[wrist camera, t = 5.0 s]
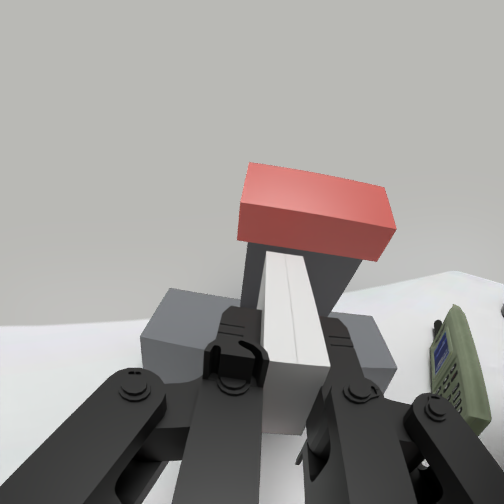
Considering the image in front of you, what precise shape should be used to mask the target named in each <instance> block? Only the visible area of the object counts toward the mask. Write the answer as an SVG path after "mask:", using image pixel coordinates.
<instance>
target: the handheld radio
mask: <svg viewBox="0 0 504 504" xmlns="http://www.w3.org/2000/svg"><path fill="white" fill-rule="evenodd" d="M434 328H435V336H436V337H435V339H434V341H433V343H432V345H431V347H430V352H431V370H432V393H433V394H438V395H440V396H442V397H444V398H446V399H447V400H448V401H449V402H450V403H451V404H452V405H453V406H454V407H455V409H456V410H457V411H458V412H459V414H460V415H461V416H462V417H463V419H464V420H465V421H466V423H467V424H468V425H469V426H470V428H471V429H472V430H473V432H474V433H475V434H476V435H477V437H478V436H479V435H480V433H481V432H482V431H483V430H484V429H485V428H486V427H487V426H488V424H489V423H490V422H491V412H490V407H489V401H488V396H487V392H486V387H485V383H484V378H483V374H482V370H481V366H480V362H479V359H478V355H477V351H476V348H475V345H474V341H473V338H472V335H471V331H470V328H469V325H468V322H467V319H466V316H465V314H464V313H463V311H462V310H461V308H460V307H459V306H457V305H454V304H453V307H452V308H451V309H450V310H449V312H448V314H447V316H446V318H445V320H444V322H443V324H442V322H441V321H440V320H436V321H435V322H434Z"/></svg>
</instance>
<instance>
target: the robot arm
mask: <svg viewBox="0 0 504 504" xmlns="http://www.w3.org/2000/svg"><path fill="white" fill-rule="evenodd" d="M501 311H502V314H503V316H504V304H503V307H502V309H501ZM305 426H306V428H307V440H306V441H305V443H304V445H303V447H302V449H301V451H300V453H299V455H298V457H297V459H296V464H295V465H300V463H301V461H302V459H303V471H304V489H305V504H504V472H503V470H502V469H501V468H500V466H499V465H498V464H497V462H496V461H495V459H494V458H493V457H492V455H491V454H490V453H489V451H488V450H487V449H486V447H485V446H484V445H483V443H482V442H481V441H480V439H479V438H478V437H477V435H476V434H475V433H474V432H473V430H472V429H471V428H470V426H469V425H468V424H467V423H466V421H465V420H464V419H463V417H462V416H461V415H460V414H459V412H458V411H457V410H456V409H455V407H454V406H453V405H452V404H451V403H450V402H449V401H448V400H447V399H446V398H444V397H442V396H440V395H438V394H433V393H424V394H421V395H419V396H417V397H416V399H415V400H414V402H413V403H412V405H410V404H405V403H401V402H396V401H392V400H389V399H386V398H384V395H383V393H382V391H381V390H380V388H379V387H378V386H377V385H376V384H375V383H374V382H373V381H371V380H369V379H367V378H365V377H364V374H363V371H362V368H361V365H360V362H359V359H358V357H357V354H356V351H355V348H354V345H353V342H352V340H351V337H350V334H349V331H348V329H347V327H346V326H345V325H344V324H343V323H342V322H341V321H340V320H339V319H338V318H332V317H323V316H318V312H317V308H316V304H315V300H314V296H313V292H312V289H311V285H310V281H309V277H308V274H307V270H306V266H305V262H304V259H303V256H296V255H290V254H283V253H276V252H269V251H266V256H265V262H264V268H263V274H262V280H261V286H260V292H259V298H258V304H257V309H251V308H245V307H238V306H230V307H229V308H228V309H226V310H225V311H224V312H223V313H222V316H221V320H220V325H219V328H218V332H217V336H216V339H215V340H214V341H212V342H210V343H209V344H208V345H207V347H206V348H205V350H204V359H203V375H202V376H200V377H199V378H197V379H195V380H192V381H189V382H184V383H168V384H164V382H163V381H162V380H161V378H160V377H159V376H158V375H156V374H155V373H153V372H152V371H149V370H146V369H142V368H127V369H123V370H119V371H117V372H116V373H114V374H113V375H111V376H110V377H109V378H108V379H107V380H106V381H105V382H104V383H103V384H102V385H101V386H100V387H99V388H98V389H97V390H96V391H95V392H94V393H93V394H92V395H91V396H90V397H89V398H88V399H87V400H86V401H85V402H84V403H83V404H82V405H81V406H80V407H79V408H78V409H77V410H76V411H75V412H74V413H73V414H72V415H71V416H70V417H68V418H67V419H66V420H65V421H64V422H63V423H62V424H61V425H60V426H59V427H58V428H57V429H56V430H55V431H54V433H53V434H52V435H51V436H50V437H49V438H48V439H47V440H46V441H45V442H44V443H43V444H42V445H41V446H40V447H39V448H38V449H37V450H36V451H35V452H34V453H33V454H32V455H31V456H30V457H29V458H28V459H27V460H26V461H25V462H24V463H23V464H22V465H21V466H20V467H19V468H18V469H17V470H16V471H15V472H14V473H13V474H12V475H11V476H10V477H9V478H8V479H7V480H6V481H5V482H4V483H3V484H2V485H1V486H0V504H142V502H143V501H144V499H145V498H146V496H147V495H148V493H149V492H150V490H151V489H152V487H153V486H154V484H155V482H156V481H157V479H158V478H159V476H160V475H161V473H162V472H163V470H164V468H165V467H166V465H167V464H168V462H169V461H177V460H182V462H181V466H180V470H179V475H178V479H177V483H176V487H175V491H174V495H173V500H172V504H259V484H260V461H261V436H262V433H271V434H284V435H302V433H303V430H304V428H305ZM424 459H426V461H427V462H428V464H429V465H430V466H429V467H425V466H423V465H422V464H421V463H422V462H423V460H424Z"/></svg>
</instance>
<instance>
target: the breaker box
mask: <svg viewBox="0 0 504 504" xmlns="http://www.w3.org/2000/svg"><path fill="white" fill-rule="evenodd" d="M240 302H241V300H239V299H233V298H227V297H221V296H214V295H208V294H202V293H196V292H190V291H185V290H179V289H173V288H170V289H169V290H168V292H167V293H166V295H165V297H164V298H163V300H162V302H161V303H160V305H159V306H158V308H157V309H156V311H155V313H154V314H153V316H152V318H151V319H150V321H149V322H148V324H147V326H146V327H145V329H144V331H143V332H142V334H141V336H140V342H141V353H142V363H143V369H146V370H149V371H152V372H153V373H155V374H156V375H158V376H159V377H160V378H161V380H162V381H163V382H164V384H168V383H184V382H189V381H192V380H195V379H197V378H199V377H200V376H202V375H203V359H204V350H205V348H206V347H207V345H208V344H209V343H210V342H212V341H214V340H215V339H216V336H217V332H218V328H219V325H220V320H221V316H222V313H223V312H224V311H225V310H226V309H228V308H229V307H230V306H240ZM328 317H332V318H338V319H339V320H340V321H341V322H342V323H343V324H344V325H345V326H346V327H347V329H348V331H349V334H350V337H351V340H352V342H353V345H354V348H355V351H356V354H357V357H358V359H359V362H360V365H361V368H362V371H363V374H364V377H365V378H367V379H369V380H371V381H373V382H374V383H375V384H376V385H377V386H378V387H379V388H380V390H381V391H382V393H383V394H384V392H385V391H386V389H387V387H388V385H389V383H390V381H391V380H392V378H393V376H394V374H395V372H396V370H397V366H396V364H395V362H394V360H393V358H392V356H391V353H390V351H389V349H388V347H387V345H386V343H385V341H384V339H383V337H382V335H381V333H380V331H379V329H378V327H377V325H376V323H375V321H374V319H373V317H372V316H366V315H356V314H347V313H338V312H330V314H329V315H328Z"/></svg>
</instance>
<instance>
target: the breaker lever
mask: <svg viewBox="0 0 504 504" xmlns="http://www.w3.org/2000/svg"><path fill="white" fill-rule="evenodd" d="M395 231H396V225H395V222H394V218H393V215H392V211H391V208H390V204H389V201H388V198H387V194H386V191H385V188H384V187H380V186H376V185H372V184H367V183H363V182H358V181H354V180H349V179H343V178H339V177H334V176H329V175H324V174H319V173H313V172H308V171H302V170H296V169H290V168H284V167H278V166H272V165H265V164H258V163H251V162H250V163H249V166H248V170H247V174H246V179H245V183H244V188H243V192H242V197H241V201H240V211H239V224H238V236H237V240H239V241H246V242H248V245H247V254H246V261H245V270H244V278H243V286H242V294H241V302H240V306H238V307H245V308H251V309H257V304H258V298H259V292H260V286H261V280H262V274H263V268H264V262H265V256H266V251H269V252H276V253H283V254H290V255H296V256H303V259H304V262H305V266H306V270H307V274H308V277H309V281H310V285H311V289H312V292H313V296H314V300H315V304H316V308H317V312H318V316H323V317H328V315H329V314H330V312H331V311H332V309H333V308H334V306H335V304H336V303H337V301H338V300H339V298H340V296H341V295H342V293H343V292H344V290H345V288H346V287H347V285H348V283H349V282H350V280H351V279H352V277H353V275H354V274H355V272H356V270H357V268H358V267H359V265H360V263H361V262H362V260H369V261H375V262H377V261H378V259H379V257H380V256H381V254H382V253H383V251H384V249H385V247H386V246H387V244H388V243H389V241H390V239H391V238H392V236H393V234H394V233H395Z"/></svg>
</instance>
